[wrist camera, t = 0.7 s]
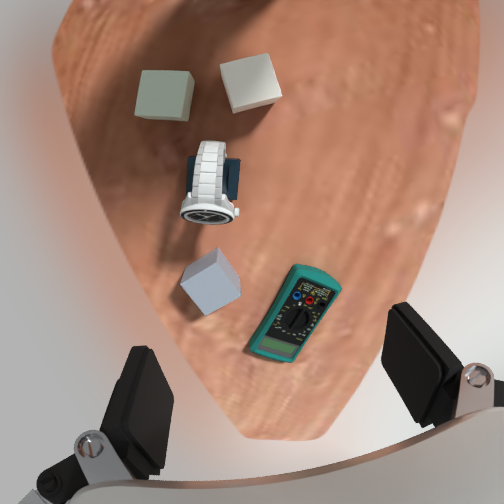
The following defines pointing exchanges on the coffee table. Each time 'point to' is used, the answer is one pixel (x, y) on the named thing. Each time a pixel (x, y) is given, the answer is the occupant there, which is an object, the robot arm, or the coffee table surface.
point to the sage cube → (165, 95)
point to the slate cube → (211, 282)
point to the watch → (211, 185)
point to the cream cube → (250, 82)
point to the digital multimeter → (295, 313)
